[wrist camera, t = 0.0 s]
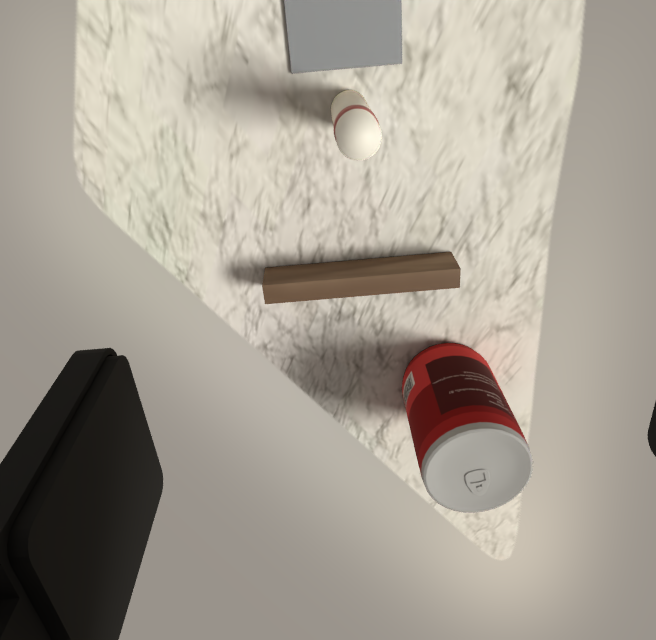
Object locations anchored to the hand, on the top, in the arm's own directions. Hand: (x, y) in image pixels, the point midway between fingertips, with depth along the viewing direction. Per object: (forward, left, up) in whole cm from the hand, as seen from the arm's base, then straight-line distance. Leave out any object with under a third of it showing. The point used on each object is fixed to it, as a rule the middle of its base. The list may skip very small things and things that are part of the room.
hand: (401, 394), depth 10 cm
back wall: (+12, +1, -31) cm, 33 cm away
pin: (+1, +1, -31) cm, 31 cm away
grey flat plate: (-6, +1, -31) cm, 32 cm away
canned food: (+23, +8, -31) cm, 40 cm away
